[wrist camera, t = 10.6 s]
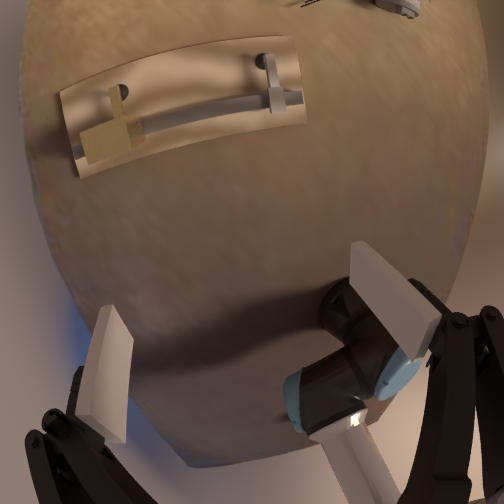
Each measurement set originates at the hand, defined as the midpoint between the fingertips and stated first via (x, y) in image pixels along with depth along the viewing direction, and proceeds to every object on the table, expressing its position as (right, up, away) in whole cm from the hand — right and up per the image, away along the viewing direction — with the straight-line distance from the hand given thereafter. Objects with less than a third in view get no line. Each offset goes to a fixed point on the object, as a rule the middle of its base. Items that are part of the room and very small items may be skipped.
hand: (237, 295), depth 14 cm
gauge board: (-9, +24, +18) cm, 31 cm away
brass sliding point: (-16, +20, +16) cm, 30 cm away
